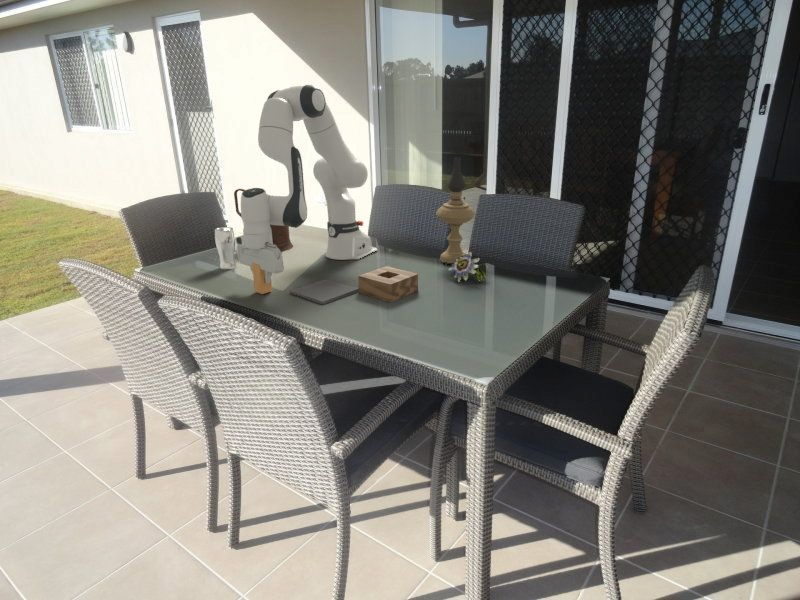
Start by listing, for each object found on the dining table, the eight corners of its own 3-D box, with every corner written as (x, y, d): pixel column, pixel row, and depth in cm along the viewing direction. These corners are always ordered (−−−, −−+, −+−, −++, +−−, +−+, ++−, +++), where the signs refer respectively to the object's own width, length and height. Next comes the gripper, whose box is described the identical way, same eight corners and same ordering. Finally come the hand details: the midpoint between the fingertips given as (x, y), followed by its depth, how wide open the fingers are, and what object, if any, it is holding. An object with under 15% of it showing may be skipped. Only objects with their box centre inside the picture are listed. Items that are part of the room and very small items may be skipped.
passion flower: (459, 296, 190) (440, 268, 189) (474, 283, 198) (456, 255, 197) (481, 285, 182) (462, 255, 181) (496, 271, 189) (478, 243, 188)
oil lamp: (479, 264, 208) (485, 158, 194) (445, 268, 203) (448, 160, 189) (461, 254, 221) (465, 154, 207) (428, 258, 216) (430, 156, 202)
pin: (264, 288, 181) (261, 260, 177) (272, 291, 178) (269, 262, 175) (254, 291, 178) (251, 262, 174) (262, 294, 176) (259, 265, 172)
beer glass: (240, 265, 208) (236, 227, 203) (233, 270, 202) (229, 231, 196) (223, 264, 209) (218, 226, 204) (215, 269, 202) (210, 230, 197)
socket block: (386, 282, 188) (386, 266, 185) (418, 291, 179) (418, 273, 177) (358, 292, 178) (358, 275, 175) (390, 302, 169) (390, 284, 167)
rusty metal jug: (283, 254, 223) (278, 193, 214) (230, 251, 228) (223, 192, 219) (299, 243, 240) (295, 187, 231) (250, 240, 245) (244, 185, 236)
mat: (326, 281, 188) (325, 279, 188) (358, 291, 179) (358, 288, 178) (290, 293, 177) (290, 290, 177) (323, 304, 167) (322, 301, 167)
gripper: (286, 243, 168) (290, 285, 173) (248, 233, 180) (252, 272, 185) (270, 247, 164) (274, 290, 168) (231, 237, 176) (236, 277, 181)
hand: (262, 281), depth 177 cm, fingers closed on pin, 4 cm apart
